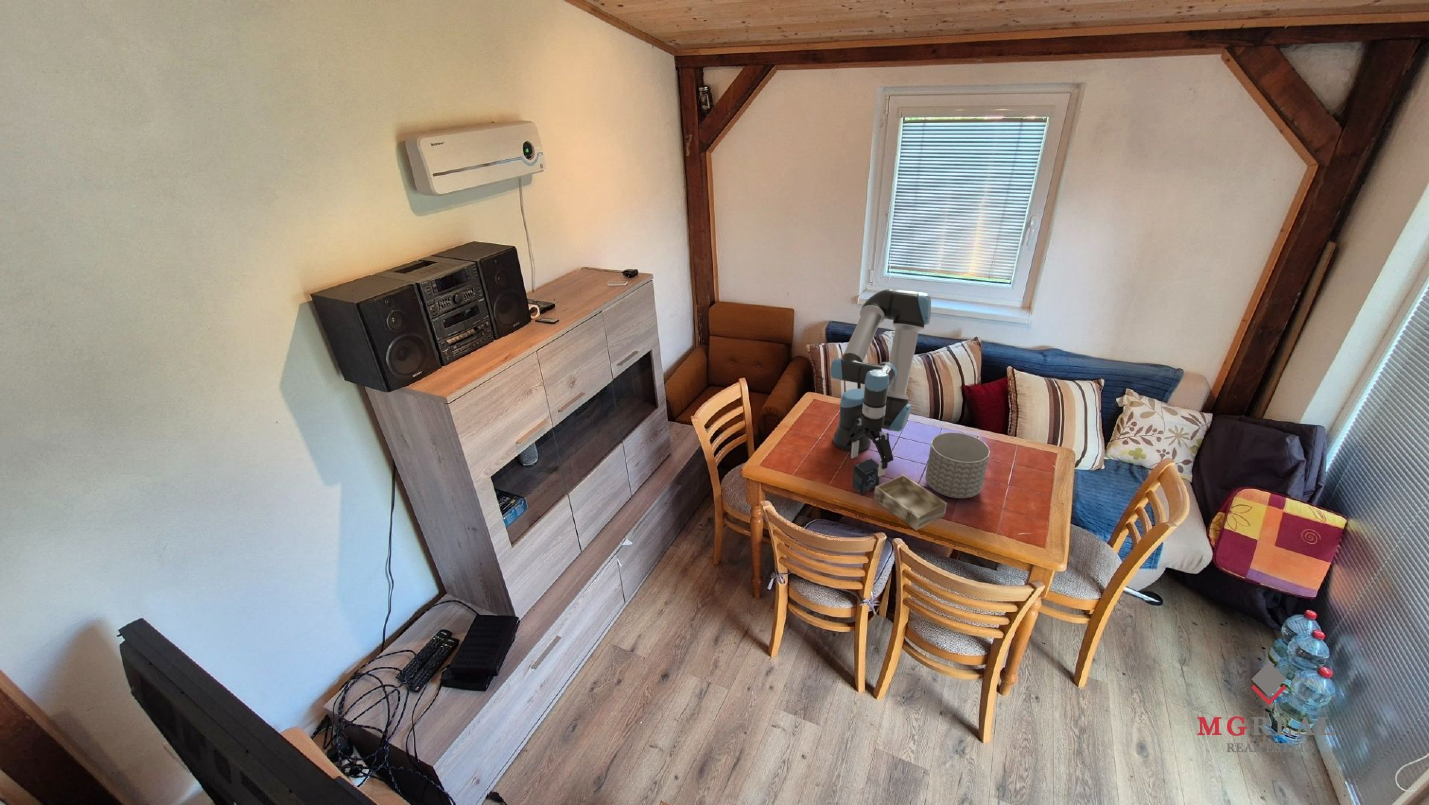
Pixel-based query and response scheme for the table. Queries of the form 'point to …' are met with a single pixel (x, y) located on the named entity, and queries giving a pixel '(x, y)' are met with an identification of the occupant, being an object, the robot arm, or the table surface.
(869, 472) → the box
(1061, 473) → the table surface
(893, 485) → the crate
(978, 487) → the planter
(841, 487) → the table surface
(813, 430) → the table surface
